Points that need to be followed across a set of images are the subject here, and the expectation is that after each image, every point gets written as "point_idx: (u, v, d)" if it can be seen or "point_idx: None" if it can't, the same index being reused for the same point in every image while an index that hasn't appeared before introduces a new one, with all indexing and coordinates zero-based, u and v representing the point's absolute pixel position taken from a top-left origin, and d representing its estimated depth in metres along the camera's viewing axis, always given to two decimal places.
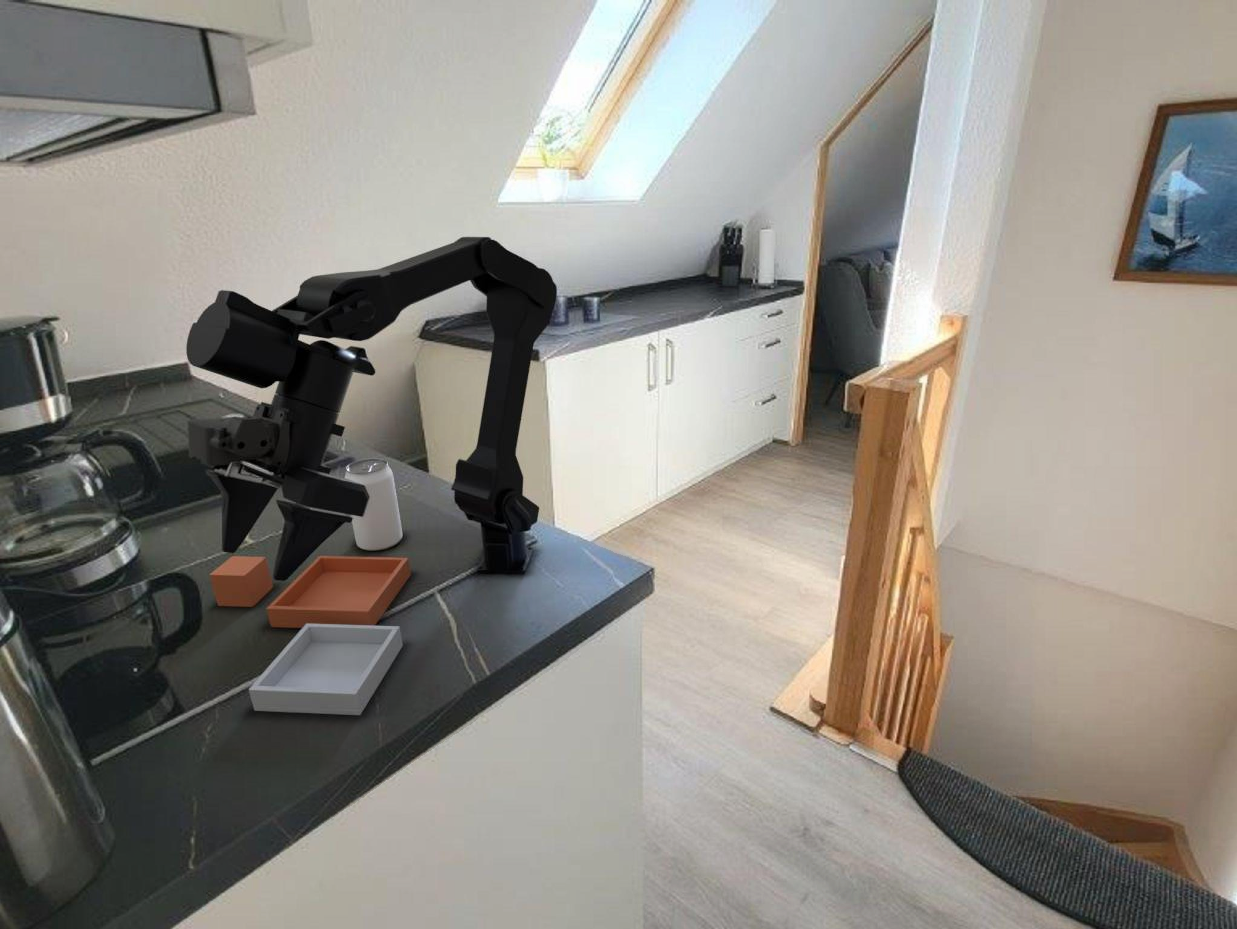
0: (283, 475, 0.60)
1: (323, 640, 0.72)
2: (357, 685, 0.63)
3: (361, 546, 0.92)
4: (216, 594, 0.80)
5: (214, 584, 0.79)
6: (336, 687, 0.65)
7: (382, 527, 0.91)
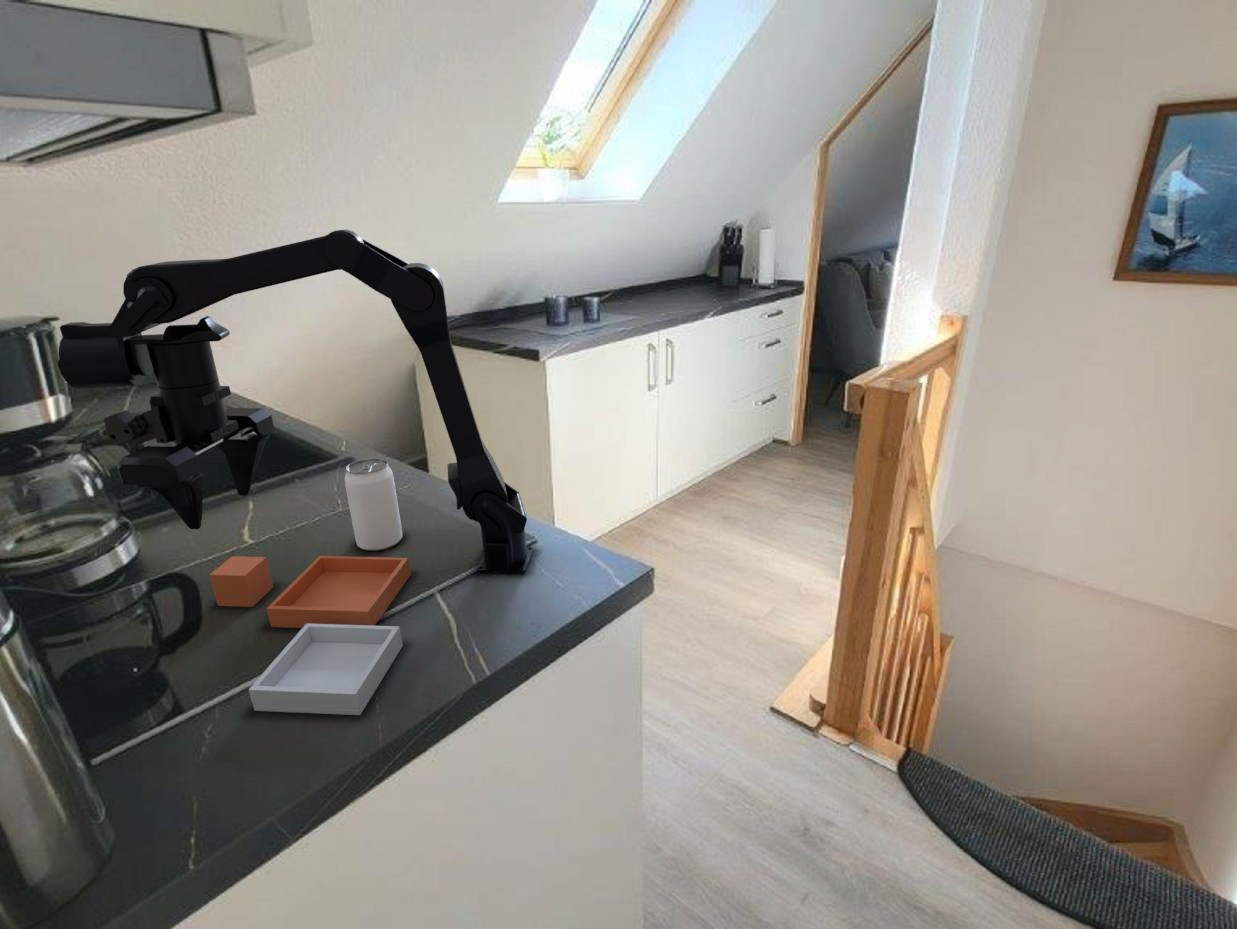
0: None
1: (323, 640, 0.72)
2: (357, 685, 0.63)
3: (361, 546, 0.92)
4: (216, 594, 0.80)
5: (214, 584, 0.79)
6: (336, 687, 0.65)
7: (382, 527, 0.91)
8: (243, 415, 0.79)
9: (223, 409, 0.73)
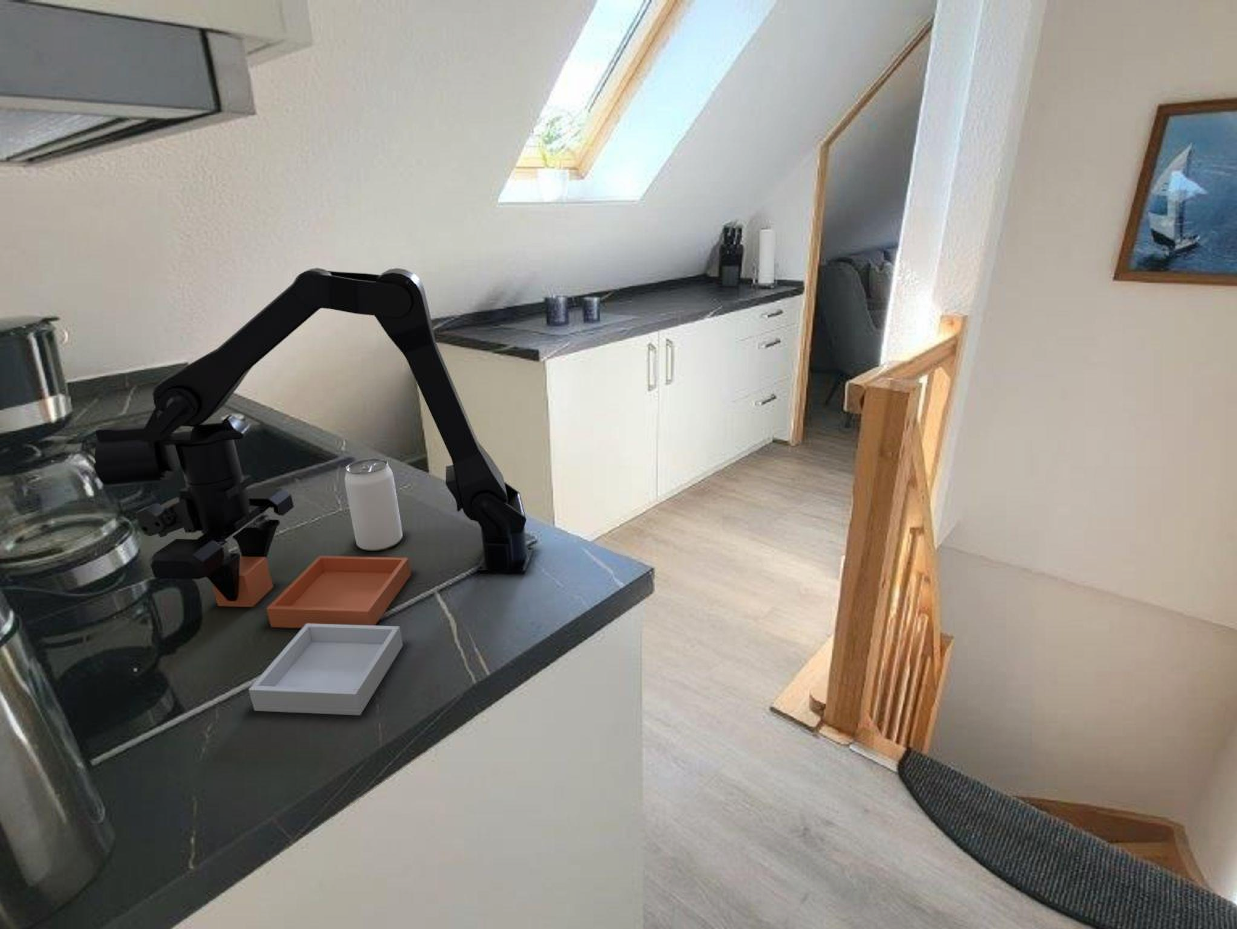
0: None
1: (323, 640, 0.72)
2: (357, 685, 0.63)
3: (361, 546, 0.92)
4: (216, 594, 0.80)
5: None
6: (336, 687, 0.65)
7: (382, 527, 0.91)
8: (264, 498, 0.83)
9: (246, 498, 0.78)
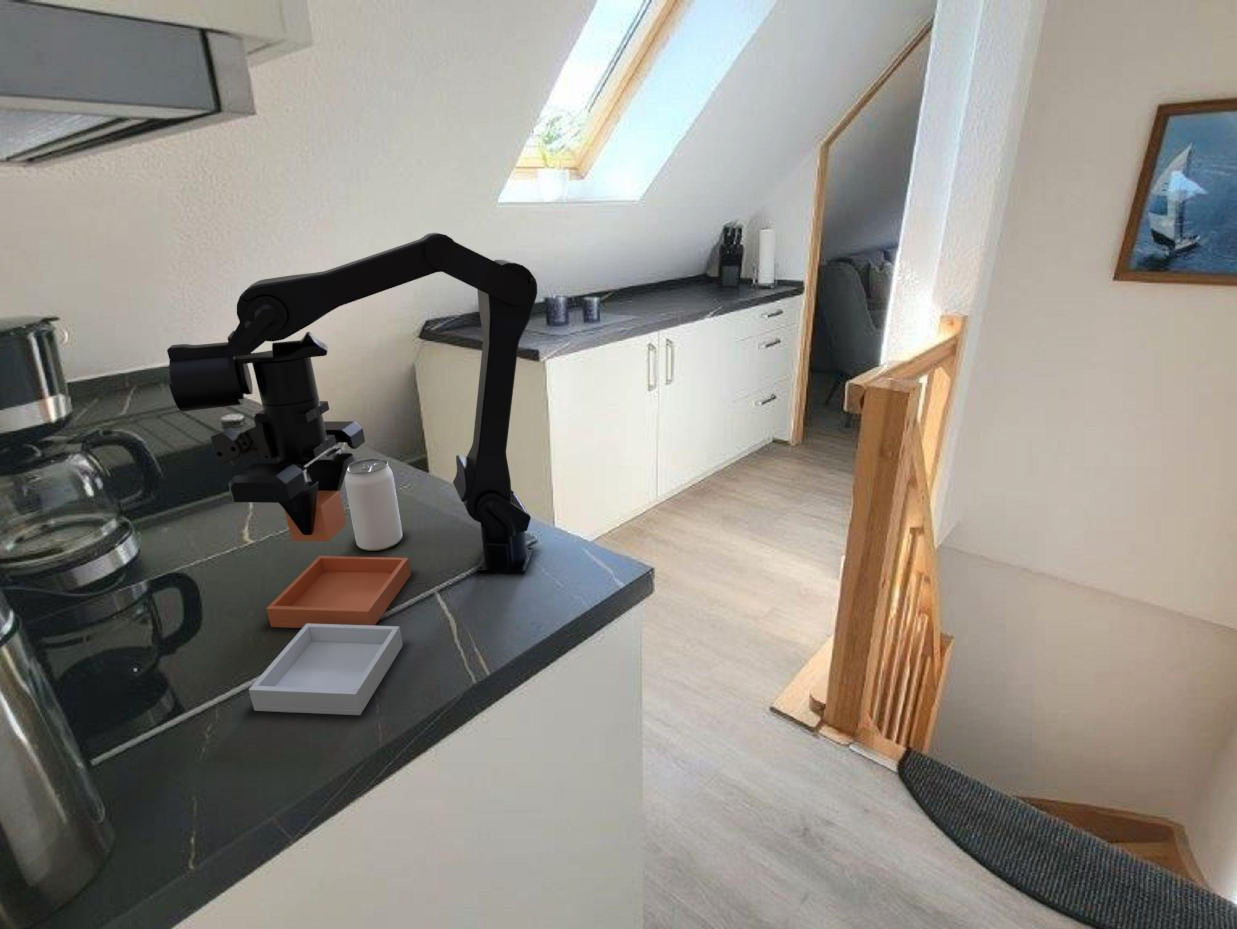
0: None
1: (323, 640, 0.72)
2: (357, 685, 0.63)
3: (361, 546, 0.92)
4: (290, 528, 0.75)
5: (288, 517, 0.75)
6: (336, 687, 0.65)
7: (382, 527, 0.91)
8: (337, 429, 0.79)
9: (323, 424, 0.73)
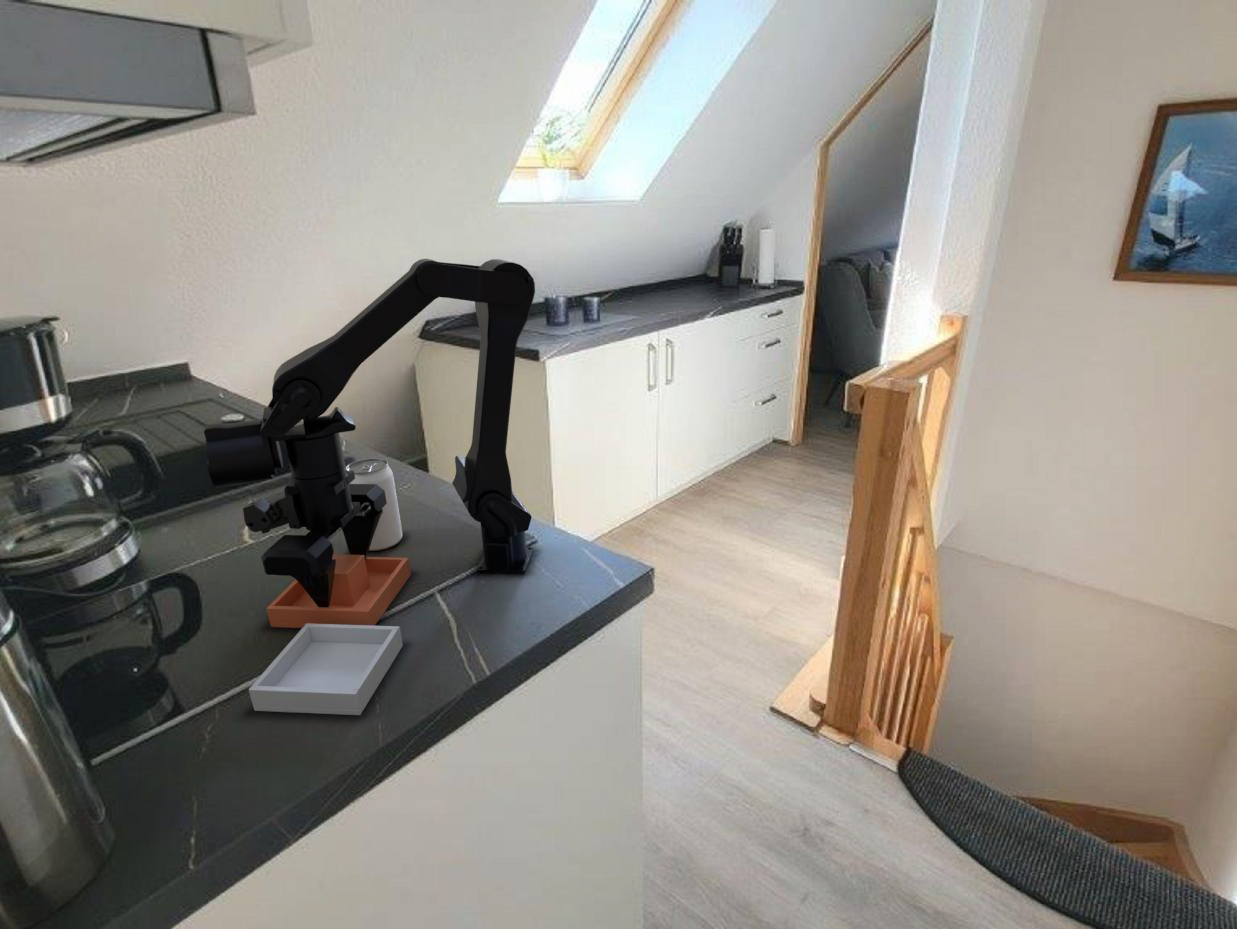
0: None
1: (323, 640, 0.72)
2: (357, 685, 0.63)
3: None
4: None
5: None
6: (336, 687, 0.65)
7: (382, 527, 0.91)
8: (361, 494, 0.82)
9: (349, 494, 0.76)
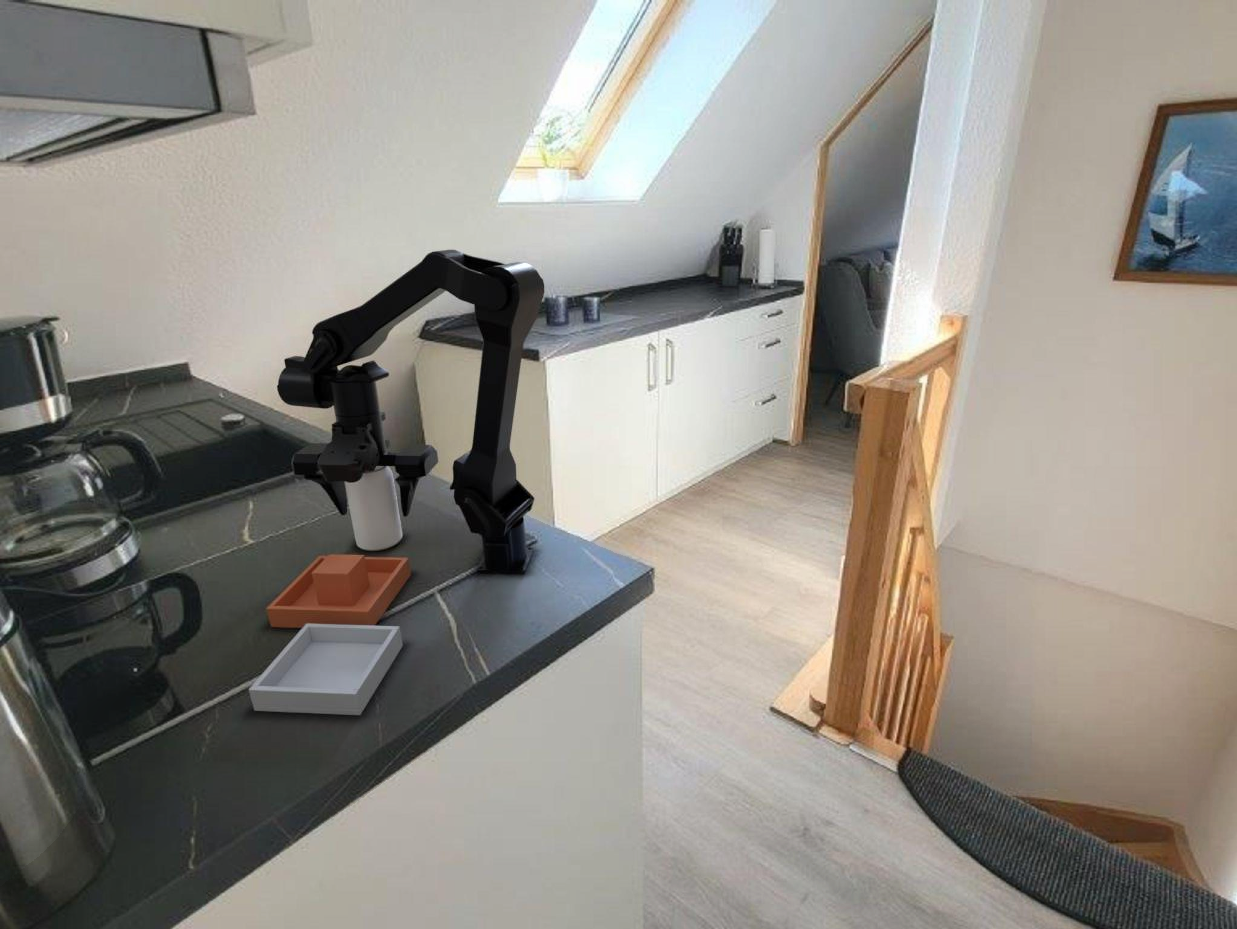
0: None
1: (323, 640, 0.72)
2: (357, 685, 0.63)
3: (361, 546, 0.92)
4: (317, 593, 0.78)
5: (316, 582, 0.78)
6: (336, 687, 0.65)
7: (382, 527, 0.91)
8: None
9: None
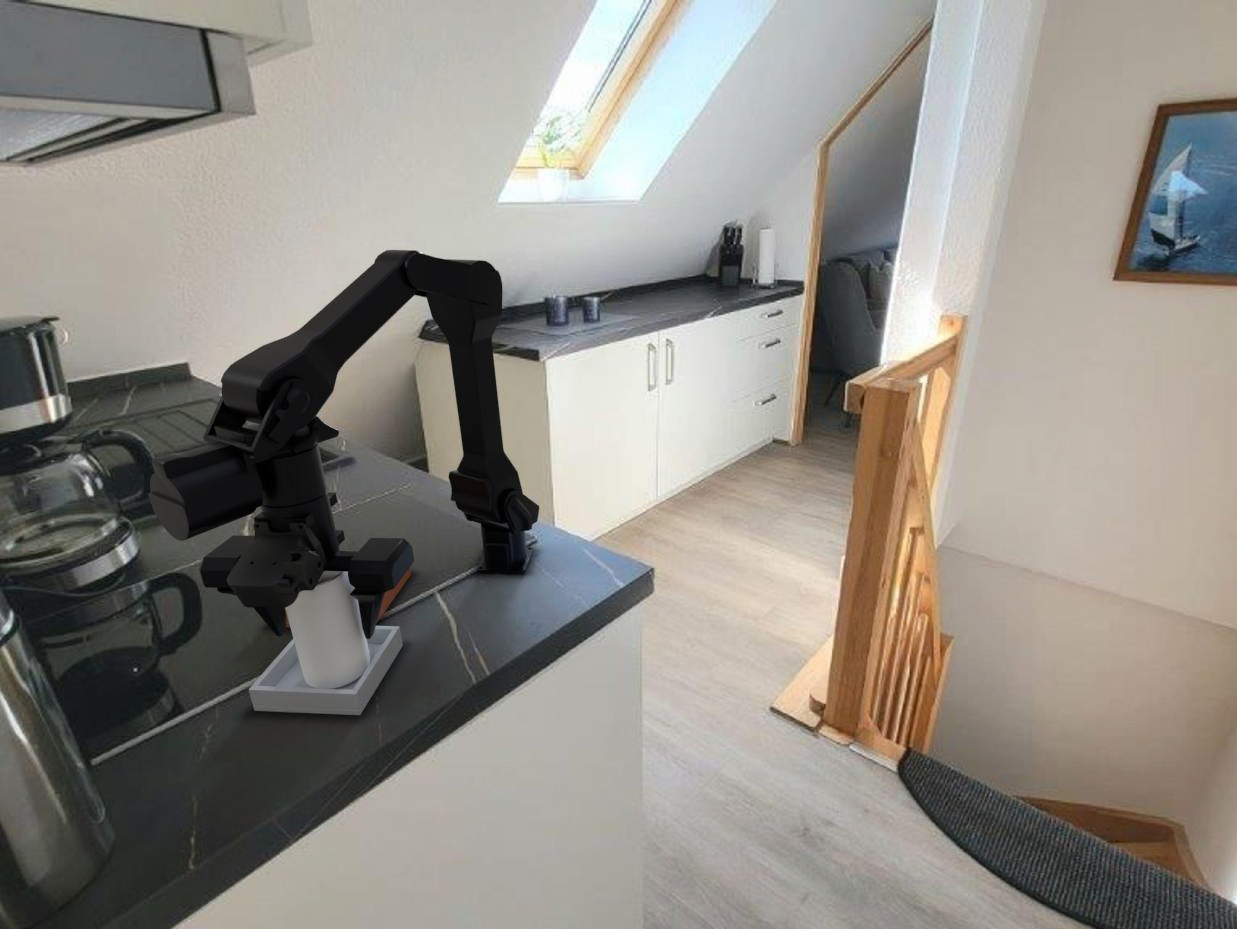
0: None
1: None
2: (357, 685, 0.63)
3: (310, 684, 0.65)
4: None
5: None
6: None
7: (339, 658, 0.64)
8: None
9: None
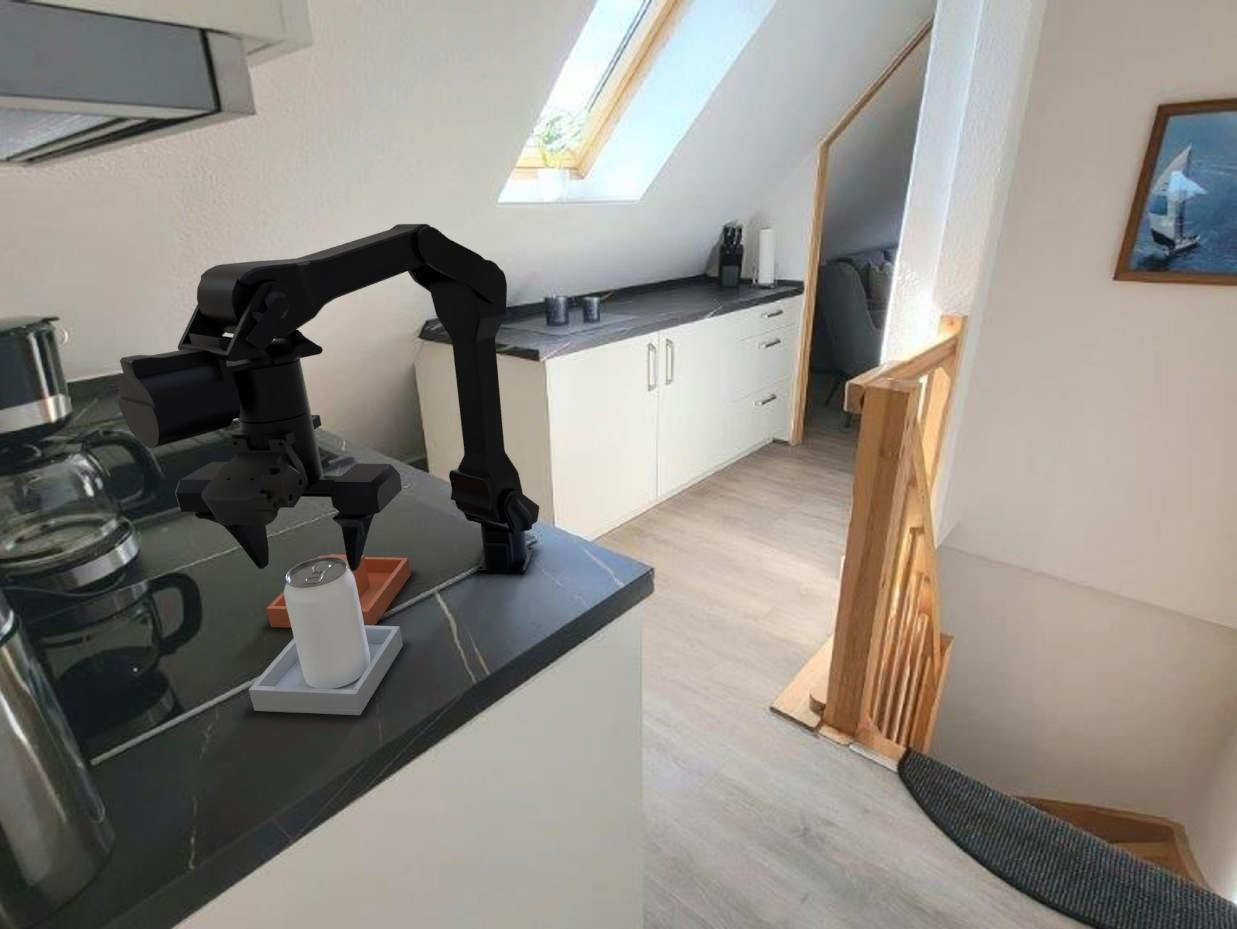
0: None
1: None
2: (357, 685, 0.63)
3: (310, 684, 0.65)
4: None
5: None
6: None
7: (339, 658, 0.64)
8: None
9: None
